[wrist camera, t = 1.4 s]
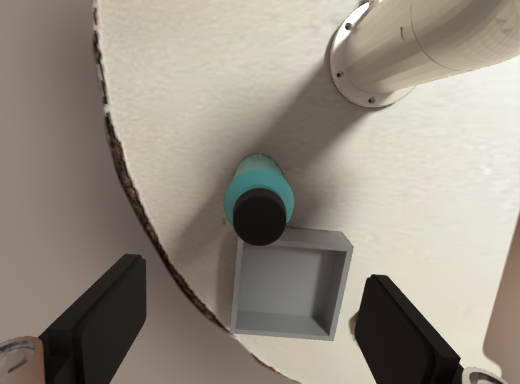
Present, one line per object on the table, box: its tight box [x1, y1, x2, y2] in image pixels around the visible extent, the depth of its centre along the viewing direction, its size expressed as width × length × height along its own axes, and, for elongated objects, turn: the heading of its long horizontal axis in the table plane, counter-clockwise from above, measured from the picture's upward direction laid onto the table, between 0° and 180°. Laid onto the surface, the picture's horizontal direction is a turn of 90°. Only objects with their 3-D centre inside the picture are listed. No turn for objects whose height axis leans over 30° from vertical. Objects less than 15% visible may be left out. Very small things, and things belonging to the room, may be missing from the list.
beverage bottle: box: [224, 153, 294, 246], centre depth 27 cm, size 6×7×20 cm
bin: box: [230, 227, 354, 341], centre depth 39 cm, size 16×16×5 cm
